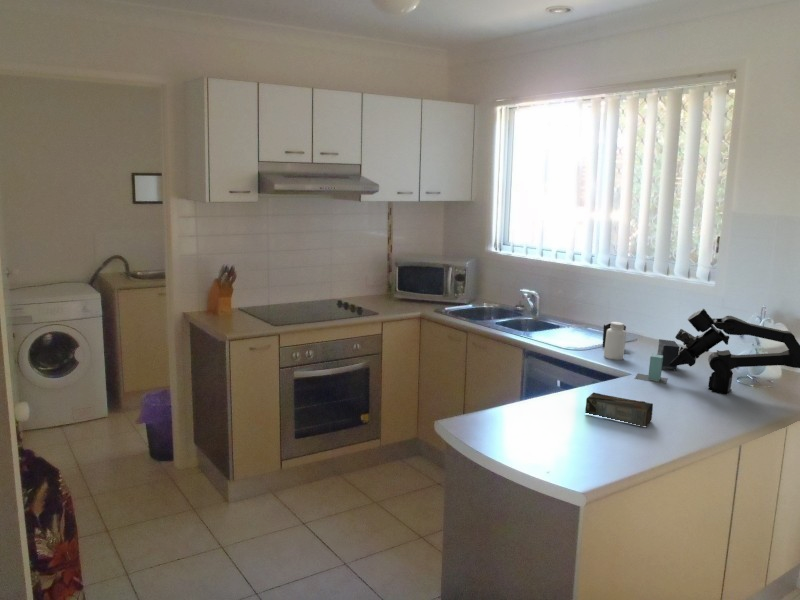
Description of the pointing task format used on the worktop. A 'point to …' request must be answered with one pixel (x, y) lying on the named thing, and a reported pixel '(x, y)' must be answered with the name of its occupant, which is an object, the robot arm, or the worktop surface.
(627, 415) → the dark wooden bar
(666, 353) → the small box
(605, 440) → the worktop surface
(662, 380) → the mat
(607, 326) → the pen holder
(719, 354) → the robot arm
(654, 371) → the block
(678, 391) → the worktop surface
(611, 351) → the pill bottle
